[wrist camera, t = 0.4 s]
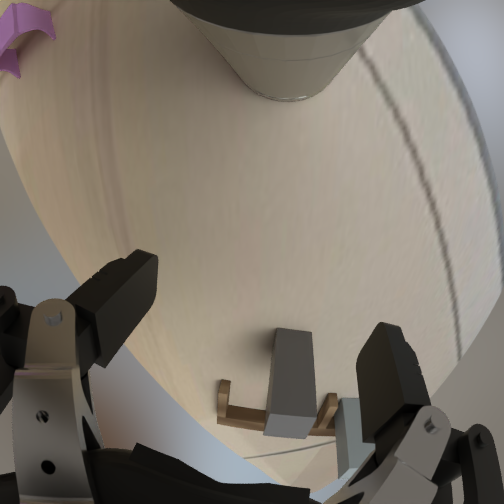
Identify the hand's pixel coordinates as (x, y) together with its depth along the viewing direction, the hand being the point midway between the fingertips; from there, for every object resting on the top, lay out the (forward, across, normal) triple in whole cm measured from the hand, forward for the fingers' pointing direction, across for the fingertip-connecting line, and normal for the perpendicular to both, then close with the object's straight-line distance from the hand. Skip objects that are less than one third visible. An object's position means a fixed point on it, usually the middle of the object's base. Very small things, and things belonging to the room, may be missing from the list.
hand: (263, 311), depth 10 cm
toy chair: (+17, +37, -14) cm, 43 cm away
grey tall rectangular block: (+18, -5, +17) cm, 25 cm away
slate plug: (+18, -18, +27) cm, 37 cm away
